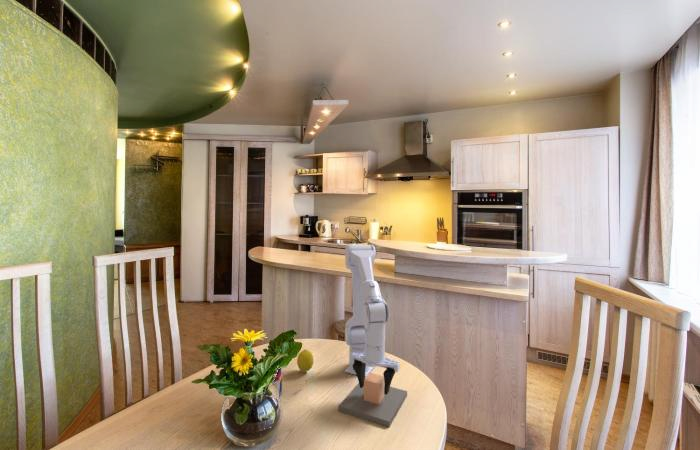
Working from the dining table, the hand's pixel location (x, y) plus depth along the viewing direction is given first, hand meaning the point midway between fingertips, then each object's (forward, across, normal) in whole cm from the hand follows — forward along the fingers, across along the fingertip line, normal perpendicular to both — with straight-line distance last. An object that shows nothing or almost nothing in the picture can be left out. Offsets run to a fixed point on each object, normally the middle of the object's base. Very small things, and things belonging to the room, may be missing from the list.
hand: (374, 389), depth 96 cm
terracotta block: (+3, 0, 0) cm, 3 cm away
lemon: (+4, -28, +6) cm, 29 cm away
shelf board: (+4, 0, 0) cm, 4 cm away
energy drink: (+4, -29, -10) cm, 31 cm away
